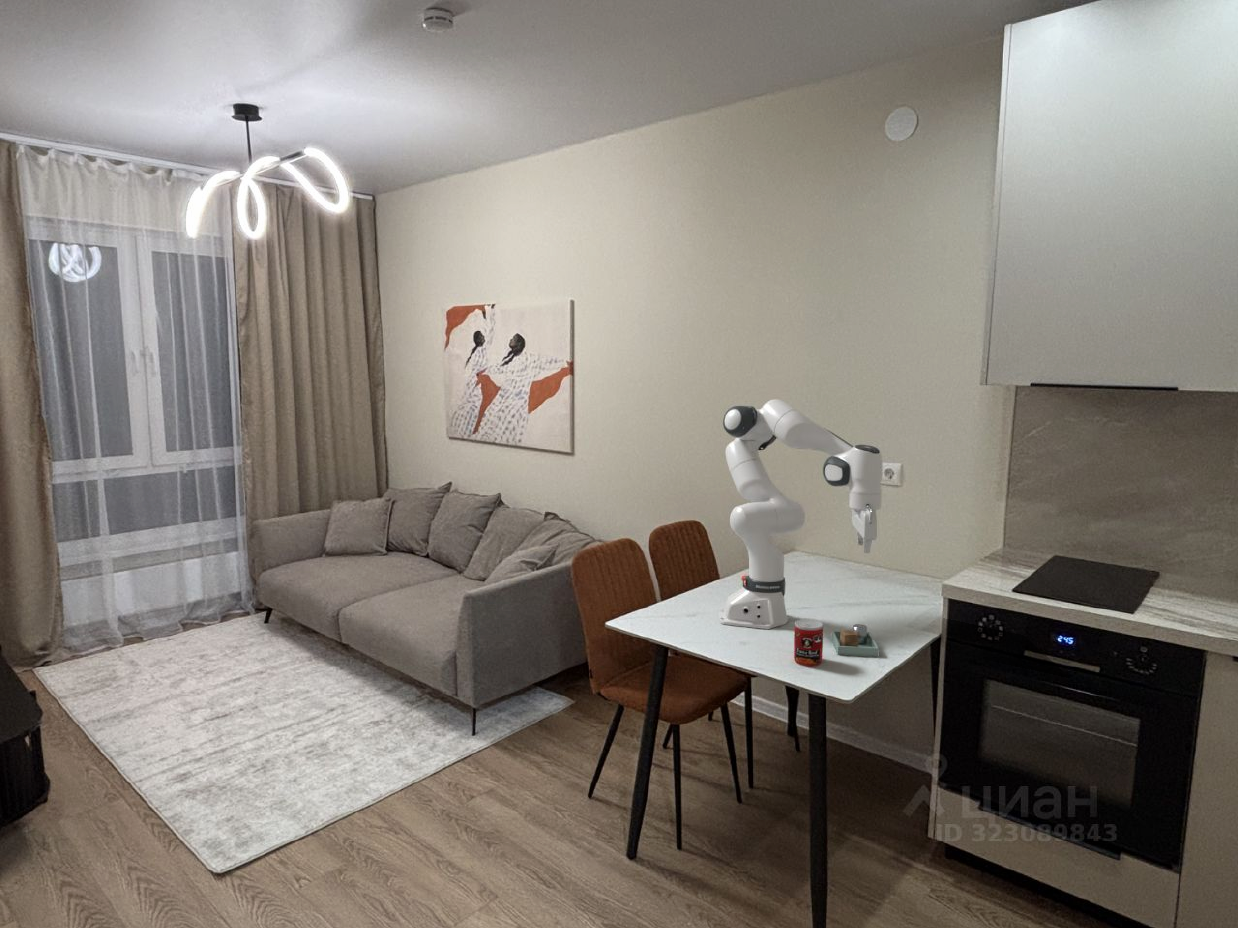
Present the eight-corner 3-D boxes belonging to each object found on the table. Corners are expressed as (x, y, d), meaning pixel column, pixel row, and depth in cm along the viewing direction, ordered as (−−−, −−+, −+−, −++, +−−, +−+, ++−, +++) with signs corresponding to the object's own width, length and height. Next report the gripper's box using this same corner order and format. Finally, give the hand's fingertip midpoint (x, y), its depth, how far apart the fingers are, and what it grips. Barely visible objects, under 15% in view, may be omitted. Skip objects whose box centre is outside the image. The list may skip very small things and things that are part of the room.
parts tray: (837, 654, 215) (837, 646, 214) (831, 638, 228) (831, 630, 227) (878, 656, 213) (878, 648, 213) (869, 640, 226) (870, 632, 226)
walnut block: (844, 651, 216) (844, 634, 215) (839, 646, 220) (840, 630, 219) (857, 651, 216) (858, 634, 215) (853, 646, 220) (854, 629, 219)
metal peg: (856, 645, 220) (857, 629, 220) (850, 640, 224) (850, 624, 224) (869, 644, 221) (869, 628, 221) (862, 639, 225) (862, 623, 224)
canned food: (792, 664, 208) (792, 626, 206) (795, 654, 215) (796, 617, 214) (820, 668, 205) (821, 629, 204) (823, 658, 213) (824, 620, 211)
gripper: (883, 508, 206) (881, 557, 208) (870, 496, 227) (868, 540, 228) (859, 508, 207) (858, 556, 209) (848, 495, 227) (847, 540, 229)
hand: (863, 548), depth 219 cm, fingers open, 8 cm apart
